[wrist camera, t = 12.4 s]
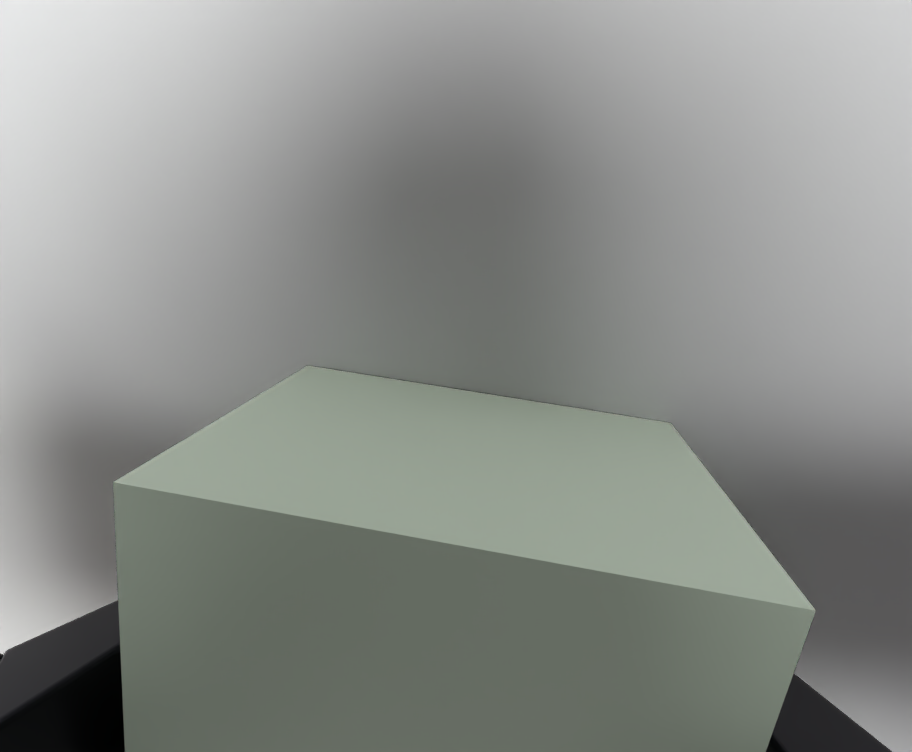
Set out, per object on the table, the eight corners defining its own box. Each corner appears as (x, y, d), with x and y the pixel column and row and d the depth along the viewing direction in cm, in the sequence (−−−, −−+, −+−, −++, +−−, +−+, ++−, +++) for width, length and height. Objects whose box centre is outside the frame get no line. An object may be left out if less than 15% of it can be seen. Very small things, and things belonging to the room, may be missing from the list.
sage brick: (670, 423, 9) (814, 611, 4) (597, 721, 10) (649, 1076, 6) (307, 365, 9) (112, 481, 5) (291, 657, 11) (133, 942, 6)
